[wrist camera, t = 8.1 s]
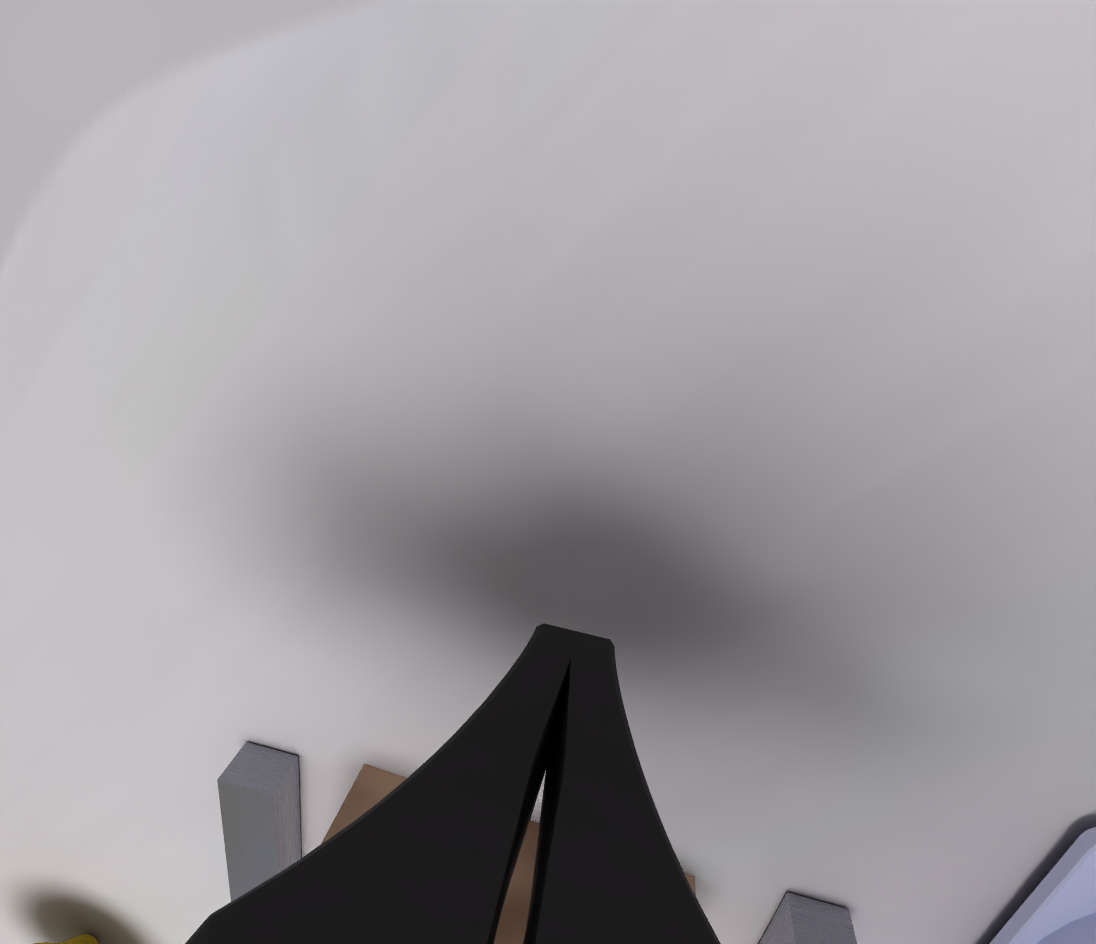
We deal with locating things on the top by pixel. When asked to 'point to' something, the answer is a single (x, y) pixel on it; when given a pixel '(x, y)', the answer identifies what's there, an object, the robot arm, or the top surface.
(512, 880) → the block
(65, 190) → the top surface
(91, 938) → the lemon
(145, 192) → the top surface
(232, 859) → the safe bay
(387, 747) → the top surface
